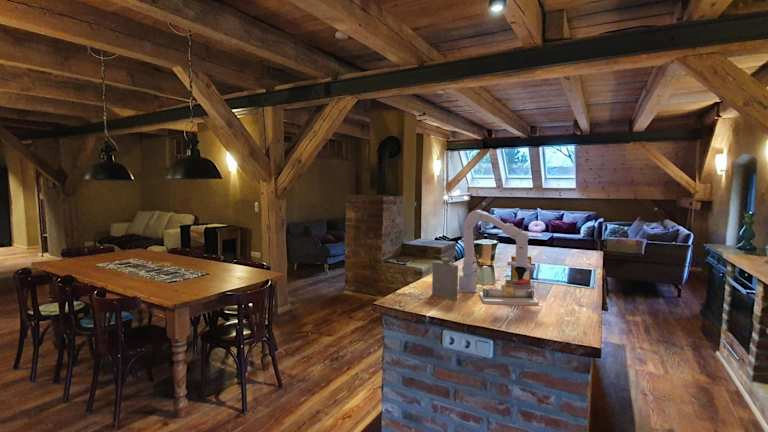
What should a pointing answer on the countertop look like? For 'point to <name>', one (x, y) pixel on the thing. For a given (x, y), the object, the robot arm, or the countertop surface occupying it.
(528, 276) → the baking soda box
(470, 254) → the robot arm
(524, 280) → the valve lever
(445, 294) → the hip flask
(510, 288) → the ball valve
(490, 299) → the mounting board
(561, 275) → the countertop surface
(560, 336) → the countertop surface
